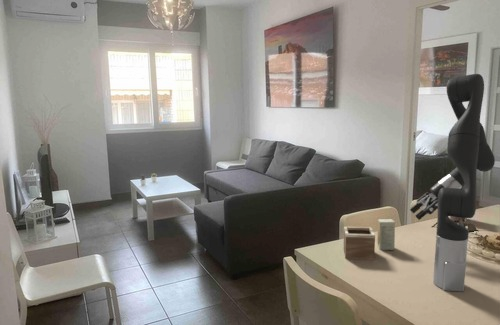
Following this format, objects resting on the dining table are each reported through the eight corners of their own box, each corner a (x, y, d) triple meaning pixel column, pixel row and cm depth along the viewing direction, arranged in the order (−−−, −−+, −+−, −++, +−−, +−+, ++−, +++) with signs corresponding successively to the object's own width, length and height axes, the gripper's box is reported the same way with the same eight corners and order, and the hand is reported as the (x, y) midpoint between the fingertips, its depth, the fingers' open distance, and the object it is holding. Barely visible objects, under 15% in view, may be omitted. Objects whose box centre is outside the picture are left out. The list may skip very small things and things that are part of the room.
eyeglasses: (478, 236, 167) (479, 226, 167) (446, 238, 167) (447, 227, 166) (458, 226, 182) (459, 216, 181) (429, 227, 181) (429, 217, 180)
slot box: (374, 260, 144) (375, 235, 143) (345, 258, 146) (345, 234, 145) (370, 249, 154) (371, 227, 153) (343, 248, 156) (344, 226, 154)
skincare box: (391, 246, 158) (392, 218, 156) (394, 250, 153) (395, 222, 152) (376, 245, 158) (377, 218, 156) (378, 249, 154) (379, 221, 152)
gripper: (433, 178, 155) (403, 203, 159) (445, 185, 141) (412, 213, 145) (446, 190, 155) (416, 215, 159) (459, 199, 141) (425, 226, 145)
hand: (414, 214), depth 152 cm, fingers open, 8 cm apart
